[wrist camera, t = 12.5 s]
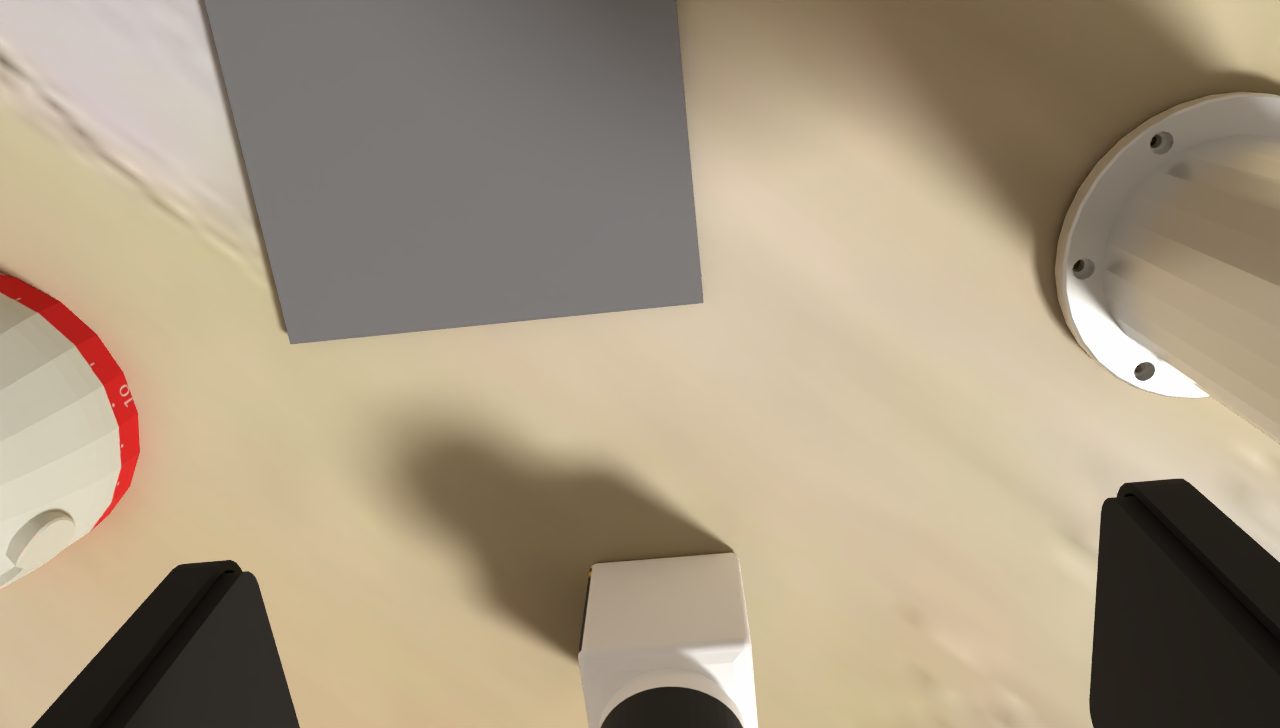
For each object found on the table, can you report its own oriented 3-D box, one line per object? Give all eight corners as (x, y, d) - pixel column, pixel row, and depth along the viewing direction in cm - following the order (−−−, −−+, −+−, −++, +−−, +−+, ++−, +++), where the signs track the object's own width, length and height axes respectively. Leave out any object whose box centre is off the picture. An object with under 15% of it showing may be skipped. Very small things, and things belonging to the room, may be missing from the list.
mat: (659, -174, 34) (659, -178, 34) (702, 299, 41) (703, 302, 40) (183, -112, 36) (175, -114, 35) (295, 339, 42) (290, 344, 41)
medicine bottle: (588, 561, 45) (563, 741, 34) (738, 549, 45) (763, 727, 33) (606, 683, 48) (589, 889, 36) (748, 673, 47) (775, 878, 36)
